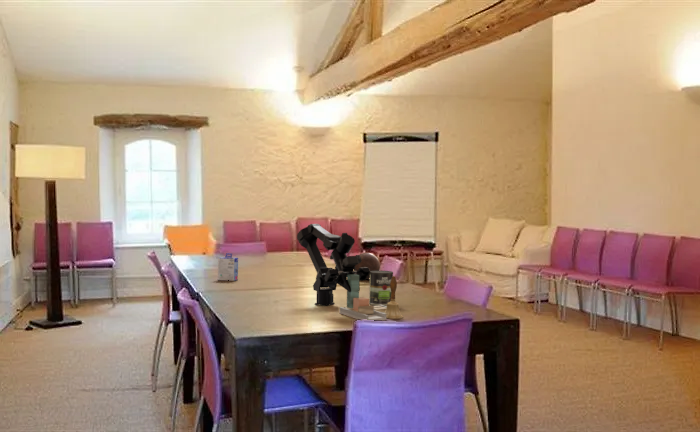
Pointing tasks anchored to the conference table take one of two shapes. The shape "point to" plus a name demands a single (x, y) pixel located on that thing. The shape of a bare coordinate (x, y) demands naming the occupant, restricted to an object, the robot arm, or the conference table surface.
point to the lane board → (357, 315)
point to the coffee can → (380, 287)
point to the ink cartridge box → (228, 268)
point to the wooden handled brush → (393, 302)
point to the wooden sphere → (368, 263)
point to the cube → (360, 302)
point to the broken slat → (380, 308)
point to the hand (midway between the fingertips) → (354, 291)
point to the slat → (356, 295)
